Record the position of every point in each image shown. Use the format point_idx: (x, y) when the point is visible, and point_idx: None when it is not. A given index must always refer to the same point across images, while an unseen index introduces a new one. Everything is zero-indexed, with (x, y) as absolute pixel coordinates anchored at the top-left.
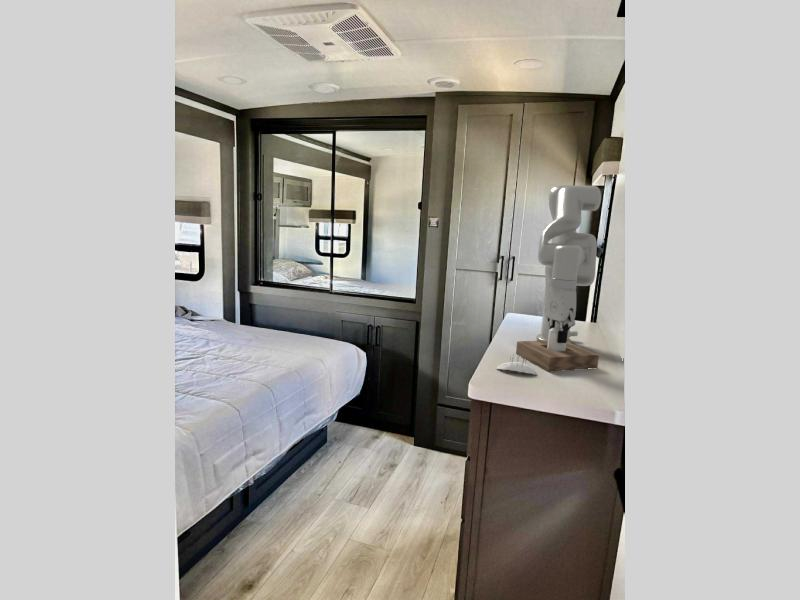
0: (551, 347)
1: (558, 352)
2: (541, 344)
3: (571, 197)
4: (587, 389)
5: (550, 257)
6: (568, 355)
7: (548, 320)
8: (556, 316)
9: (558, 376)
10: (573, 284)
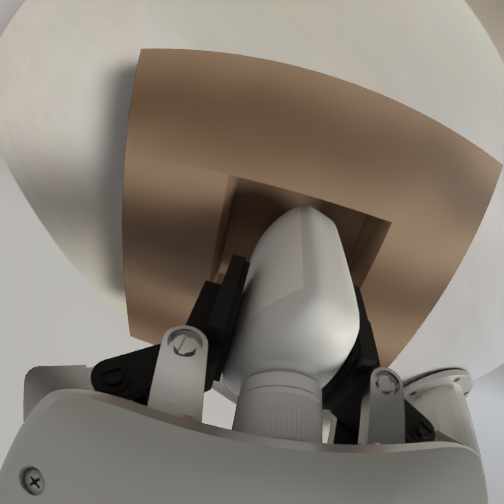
0: (290, 224)
1: (203, 191)
2: (393, 248)
3: None
4: (26, 94)
5: None
6: (137, 199)
7: (421, 423)
8: (182, 490)
9: (121, 68)
10: None
